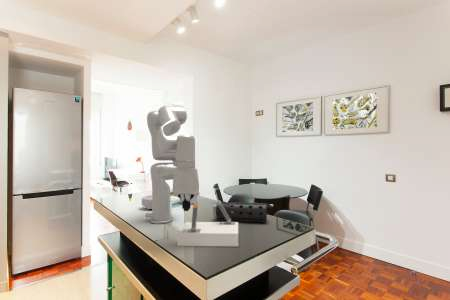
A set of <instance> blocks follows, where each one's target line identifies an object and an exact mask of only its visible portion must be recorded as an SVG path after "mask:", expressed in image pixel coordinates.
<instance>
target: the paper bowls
mask: <svg viewBox="0 0 450 300" xmlns="http://www.w3.org/2000/svg"><path fill="white" fill-rule="evenodd" d="M141 206H143V207H144V208H145V209H146V208H147V209H152V194H151V195H144V196H142V197H141ZM147 209H146V210H147Z"/></svg>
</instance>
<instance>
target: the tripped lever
mask: <svg viewBox="0 0 450 300" xmlns="http://www.w3.org/2000/svg"><path fill="white" fill-rule="evenodd" d="M198 206H199V203H198V202H197V203H194V204H192V215H191V216H192V217H191V222H192V228H191V231H195V229H196V227H197V226H196V222H198V221H197V218H198Z"/></svg>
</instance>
